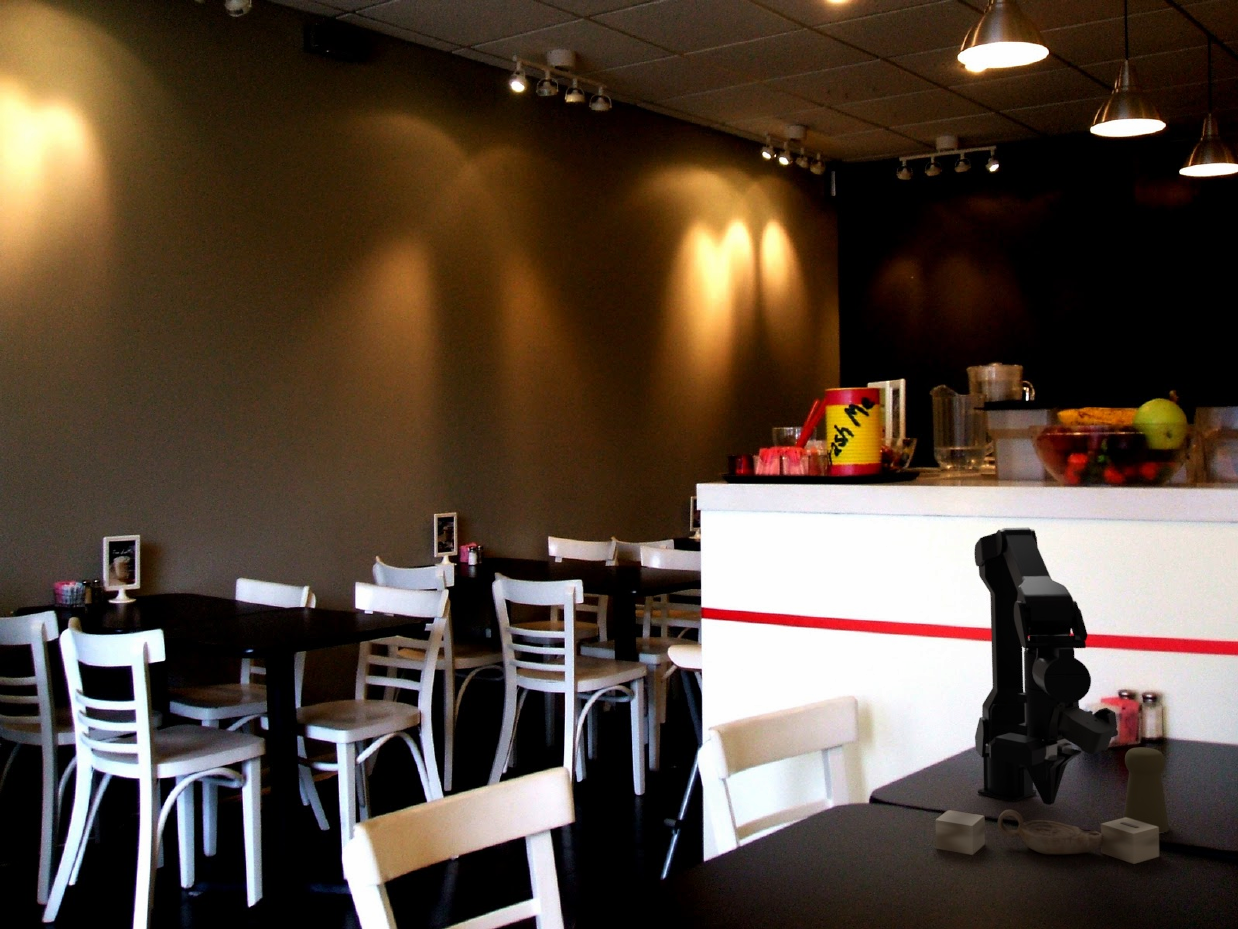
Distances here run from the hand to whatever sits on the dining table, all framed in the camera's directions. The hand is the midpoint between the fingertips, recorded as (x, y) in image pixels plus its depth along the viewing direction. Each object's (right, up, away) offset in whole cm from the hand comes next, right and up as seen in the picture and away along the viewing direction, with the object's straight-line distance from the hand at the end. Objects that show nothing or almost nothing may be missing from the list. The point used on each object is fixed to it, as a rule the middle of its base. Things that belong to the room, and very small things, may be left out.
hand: (1048, 804), depth 164 cm
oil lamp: (0, -7, 0) cm, 6 cm away
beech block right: (+10, -6, -2) cm, 12 cm away
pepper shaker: (+17, -6, +9) cm, 20 cm away
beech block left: (-11, -7, +3) cm, 13 cm away
